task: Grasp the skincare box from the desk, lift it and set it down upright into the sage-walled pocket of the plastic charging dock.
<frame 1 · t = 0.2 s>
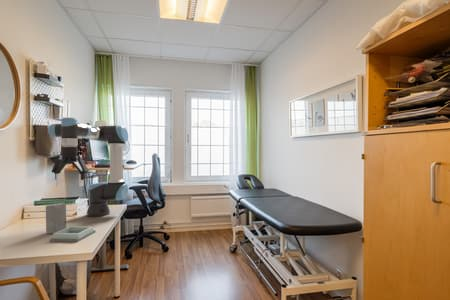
hand: (70, 185, 139), 28 cm above the table, fingers open, 13 cm apart
skincare box: (56, 231, 149), on the table
dock: (73, 236, 140), on the table
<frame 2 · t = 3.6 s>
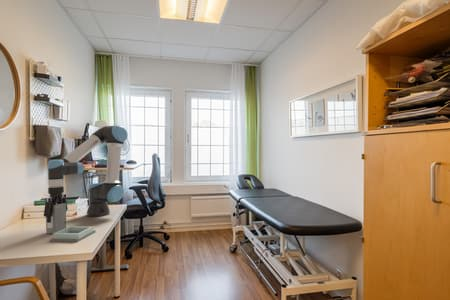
hand: (56, 225, 149), 3 cm above the table, fingers closed on skincare box, 9 cm apart
skincare box: (56, 231, 149), on the table, touching gripper
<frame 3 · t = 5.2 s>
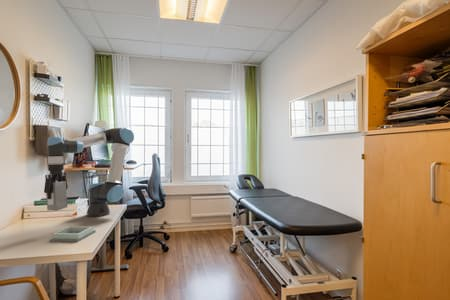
hand: (56, 202, 149), 16 cm above the table, fingers closed on skincare box, 8 cm apart
skincare box: (57, 209, 149), point 13 cm above the table, touching gripper
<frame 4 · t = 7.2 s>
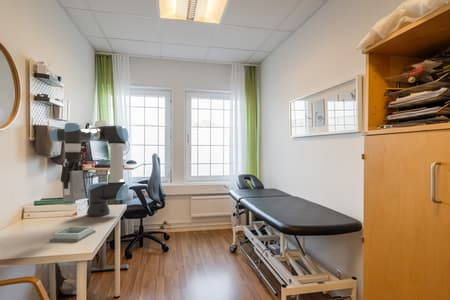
hand: (73, 193, 140), 23 cm above the table, fingers closed on skincare box, 8 cm apart
skincare box: (73, 200, 140), point 20 cm above the table, touching gripper
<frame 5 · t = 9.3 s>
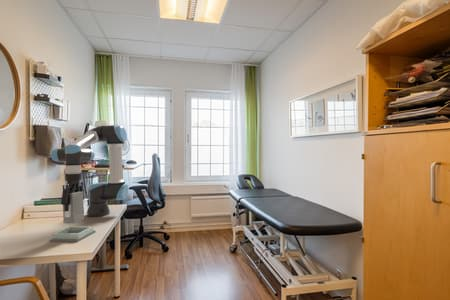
hand: (73, 214, 140), 12 cm above the table, fingers closed on skincare box, 8 cm apart
skincare box: (73, 221, 140), point 8 cm above the table, touching gripper
when the fingers open (6 cm above the table, at t = 10.9 s): skincare box drops 2 cm, resting on dock.
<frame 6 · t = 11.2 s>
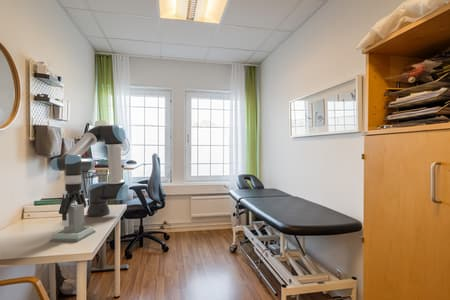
hand: (73, 222, 140), 7 cm above the table, fingers open, 12 cm apart
skincare box: (74, 234, 140), point 1 cm above the table, touching dock
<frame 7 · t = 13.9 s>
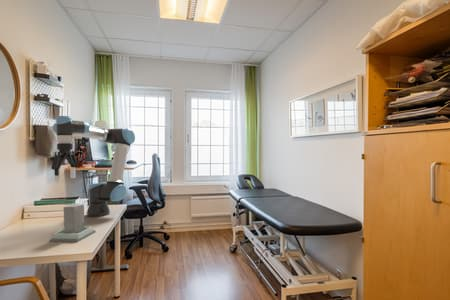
hand: (65, 179, 149), 30 cm above the table, fingers open, 13 cm apart
nothing on the table moved.
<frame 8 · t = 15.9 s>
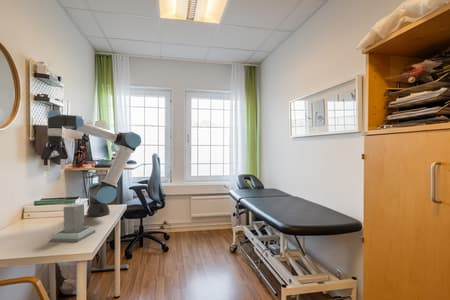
hand: (55, 170, 159), 35 cm above the table, fingers open, 13 cm apart
nothing on the table moved.
at the end: skincare box 0.6 cm off-centre on the dock, point 0.8 cm above the dock's base; skincare box tilted 0°; the gripper is holding nothing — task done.
